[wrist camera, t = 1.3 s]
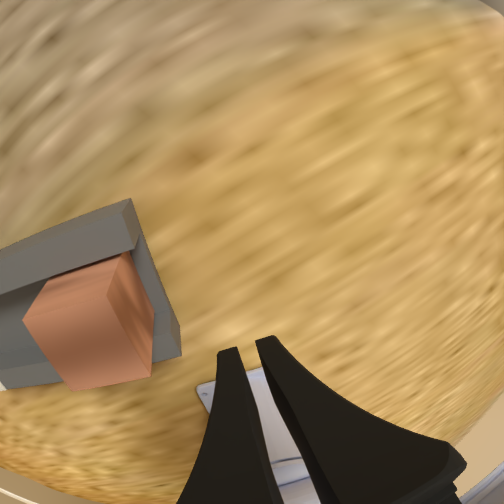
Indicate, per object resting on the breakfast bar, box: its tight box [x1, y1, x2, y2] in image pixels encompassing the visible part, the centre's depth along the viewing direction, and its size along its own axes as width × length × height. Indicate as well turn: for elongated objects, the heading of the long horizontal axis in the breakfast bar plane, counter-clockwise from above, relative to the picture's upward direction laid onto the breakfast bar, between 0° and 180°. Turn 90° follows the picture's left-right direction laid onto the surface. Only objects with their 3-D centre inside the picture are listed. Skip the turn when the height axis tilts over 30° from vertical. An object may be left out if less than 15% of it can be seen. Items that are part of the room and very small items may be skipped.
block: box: [22, 251, 155, 391], centre depth 15 cm, size 5×5×6 cm
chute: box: [0, 198, 182, 391], centre depth 16 cm, size 10×18×3 cm, turn 102°
